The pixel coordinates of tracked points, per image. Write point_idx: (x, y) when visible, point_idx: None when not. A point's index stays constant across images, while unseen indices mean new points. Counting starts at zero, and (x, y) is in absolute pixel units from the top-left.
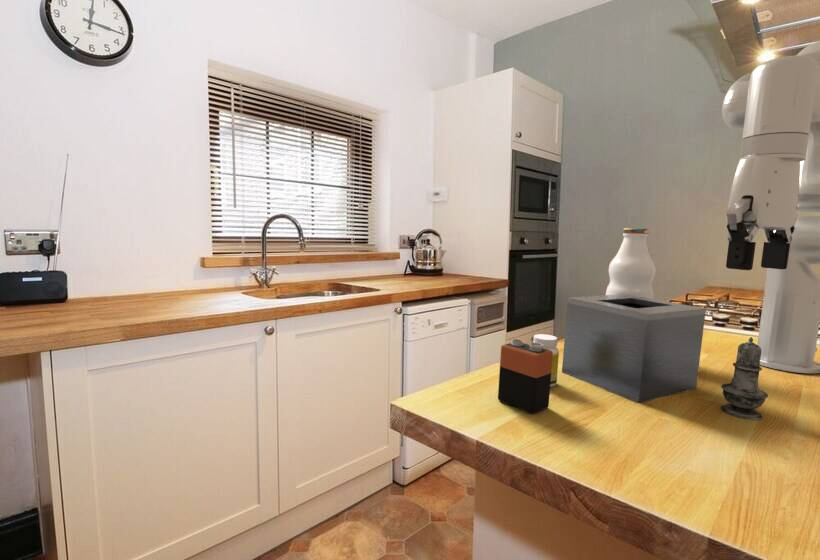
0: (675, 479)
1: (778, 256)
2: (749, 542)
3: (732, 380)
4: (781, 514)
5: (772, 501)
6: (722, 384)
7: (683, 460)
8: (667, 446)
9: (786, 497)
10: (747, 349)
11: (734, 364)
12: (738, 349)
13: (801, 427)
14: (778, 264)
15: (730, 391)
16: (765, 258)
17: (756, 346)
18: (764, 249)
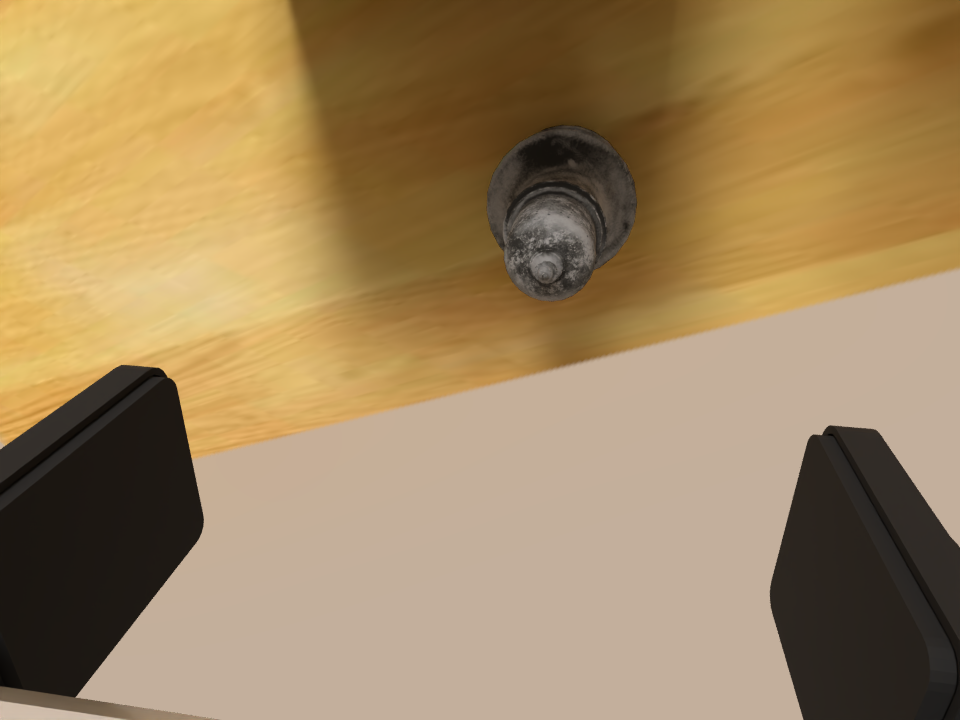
0: (30, 301)
1: (817, 653)
2: (15, 437)
3: (533, 180)
4: None
5: None
6: (549, 132)
7: (106, 269)
8: (121, 212)
9: (186, 426)
10: (506, 265)
11: (523, 196)
12: (517, 222)
13: (609, 330)
14: (788, 588)
15: (488, 192)
16: (838, 519)
17: (539, 292)
18: (892, 586)
